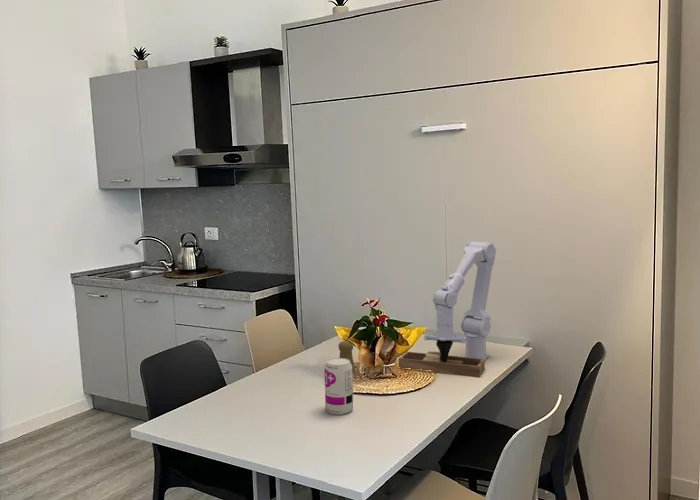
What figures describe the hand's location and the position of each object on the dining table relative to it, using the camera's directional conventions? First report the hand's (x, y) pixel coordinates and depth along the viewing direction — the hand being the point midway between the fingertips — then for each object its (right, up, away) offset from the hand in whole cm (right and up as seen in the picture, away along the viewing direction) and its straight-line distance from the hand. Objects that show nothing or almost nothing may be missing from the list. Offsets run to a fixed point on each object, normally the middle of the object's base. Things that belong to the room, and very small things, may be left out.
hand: (444, 361), depth 221 cm
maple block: (-4, 0, +2) cm, 4 cm away
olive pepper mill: (-35, -4, 0) cm, 35 cm away
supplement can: (-37, -9, -36) cm, 52 cm away
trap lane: (-1, -3, +1) cm, 3 cm away
